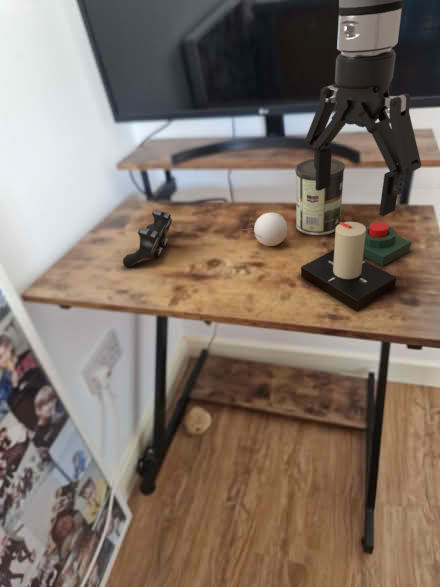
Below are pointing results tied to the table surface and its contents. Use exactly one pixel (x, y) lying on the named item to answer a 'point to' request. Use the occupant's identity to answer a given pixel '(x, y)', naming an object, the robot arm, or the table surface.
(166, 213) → the game controller
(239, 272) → the table surface
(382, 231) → the red button
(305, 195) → the coffee can
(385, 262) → the button box
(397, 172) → the robot arm
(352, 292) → the panel
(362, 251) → the dial
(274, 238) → the white sphere
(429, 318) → the table surface
